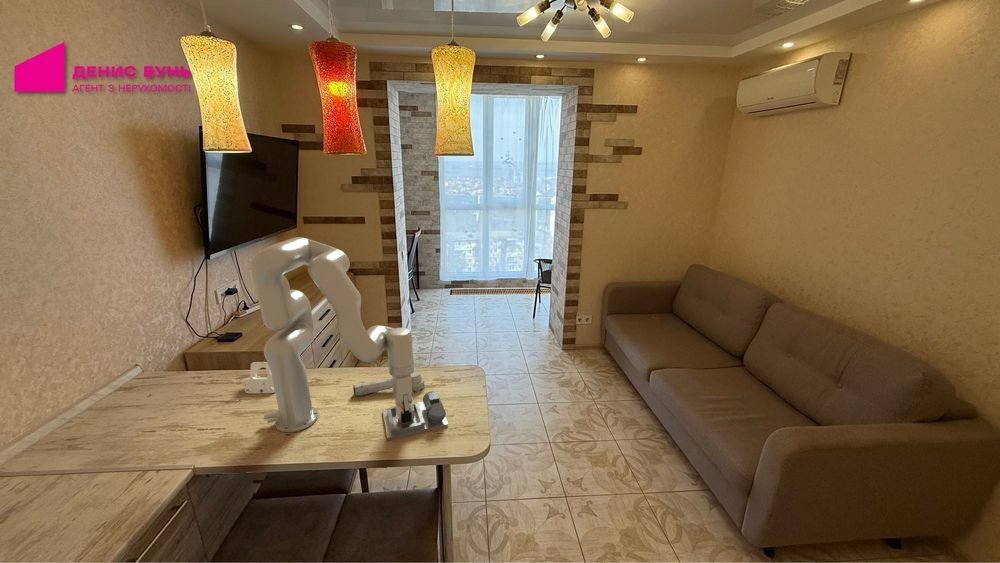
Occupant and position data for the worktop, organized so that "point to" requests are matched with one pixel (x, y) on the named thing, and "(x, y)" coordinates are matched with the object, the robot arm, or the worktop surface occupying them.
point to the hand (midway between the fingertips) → (405, 415)
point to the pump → (398, 411)
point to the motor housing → (417, 418)
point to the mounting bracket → (259, 380)
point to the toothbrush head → (387, 385)
